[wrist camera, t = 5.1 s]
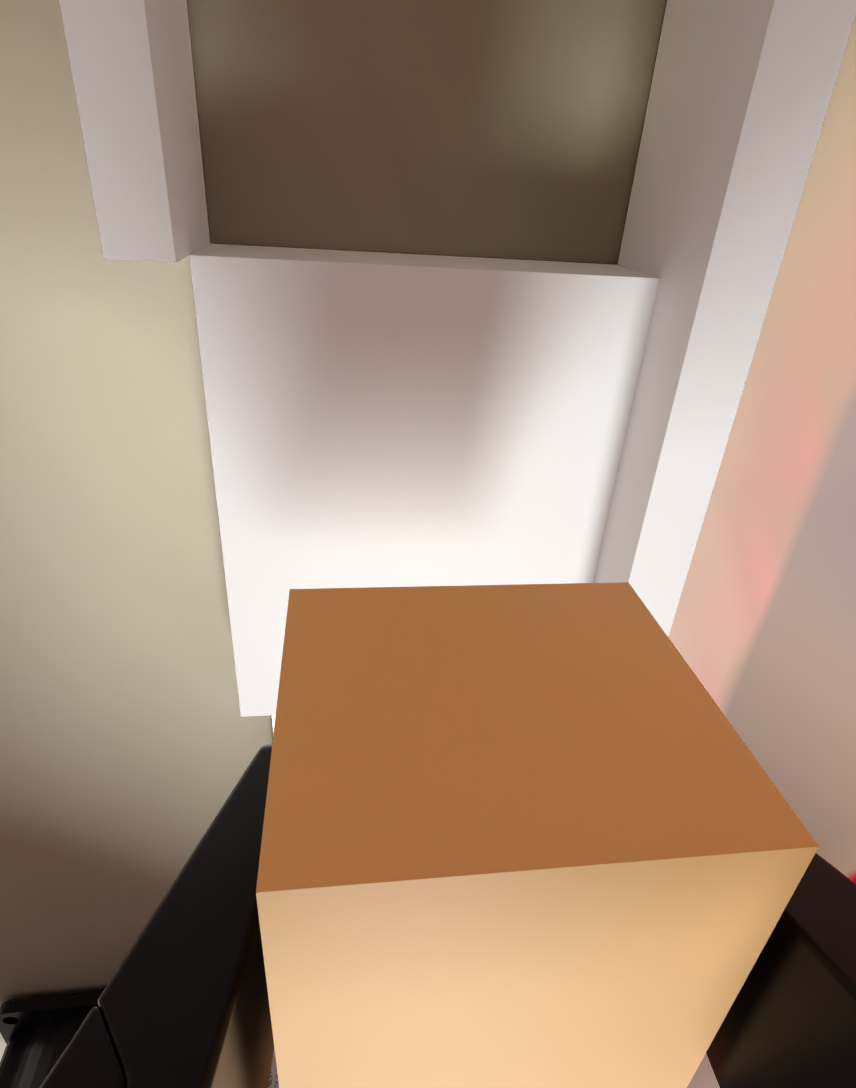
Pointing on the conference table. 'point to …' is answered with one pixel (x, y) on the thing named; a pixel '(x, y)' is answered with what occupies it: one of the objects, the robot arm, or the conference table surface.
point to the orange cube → (507, 843)
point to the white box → (472, 334)
